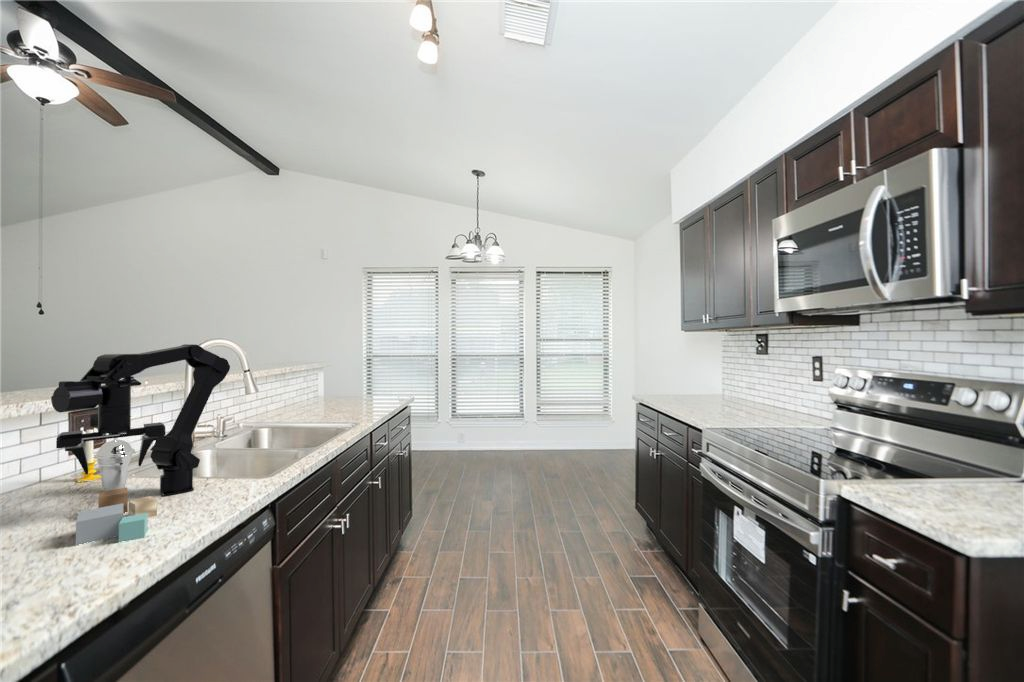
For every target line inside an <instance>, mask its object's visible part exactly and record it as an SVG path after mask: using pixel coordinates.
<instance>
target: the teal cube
mask: <svg viewBox="0 0 1024 682" xmlns="http://www.w3.org/2000/svg"><path fill="white" fill-rule="evenodd" d="M148 519H149V518H148V513H144V514H138V515H132V516H127V515H126V516H123V518H122V520H121V521H120V523H119V536H118V543H119V542H120V543H123V542H122V541H125V542H130V541H129V540H131V541H134V540H140V539H144V538H145V537H146V535H147V532H148V528H149V527H148Z"/></svg>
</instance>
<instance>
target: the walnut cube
mask: <svg viewBox="0 0 1024 682" xmlns="http://www.w3.org/2000/svg"><path fill="white" fill-rule="evenodd" d="M128 493H129V491H128V487H126V486H125V488H120V489H115V490H109V491H103V490H102V491H99V492H98V507H97V508H101V507H106V506H111V505H117V504H122V503H123V513H124V514H126V513H125V512H129V501H128V500H129V499H128V498H129V494H128Z"/></svg>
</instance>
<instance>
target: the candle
mask: <svg viewBox="0 0 1024 682" xmlns="http://www.w3.org/2000/svg"><path fill="white" fill-rule="evenodd" d="M86 433H94V429H91V428H89V429H86V432H85V434H86ZM85 451H86V456H87V462H88V474H85V472H84V470H83V471H81V473H80V475H82V477H78V478H77V479H76V480H77V481H85V480H86V481H87V480H94V479H98V478H100V479H101V474H100V475H99V474H95V473H96V472H97V469H95V463H98V461H97V459H94V458H93V457H94V440H93V441H85ZM98 480H99V479H98ZM94 481H95V480H94Z"/></svg>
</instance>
